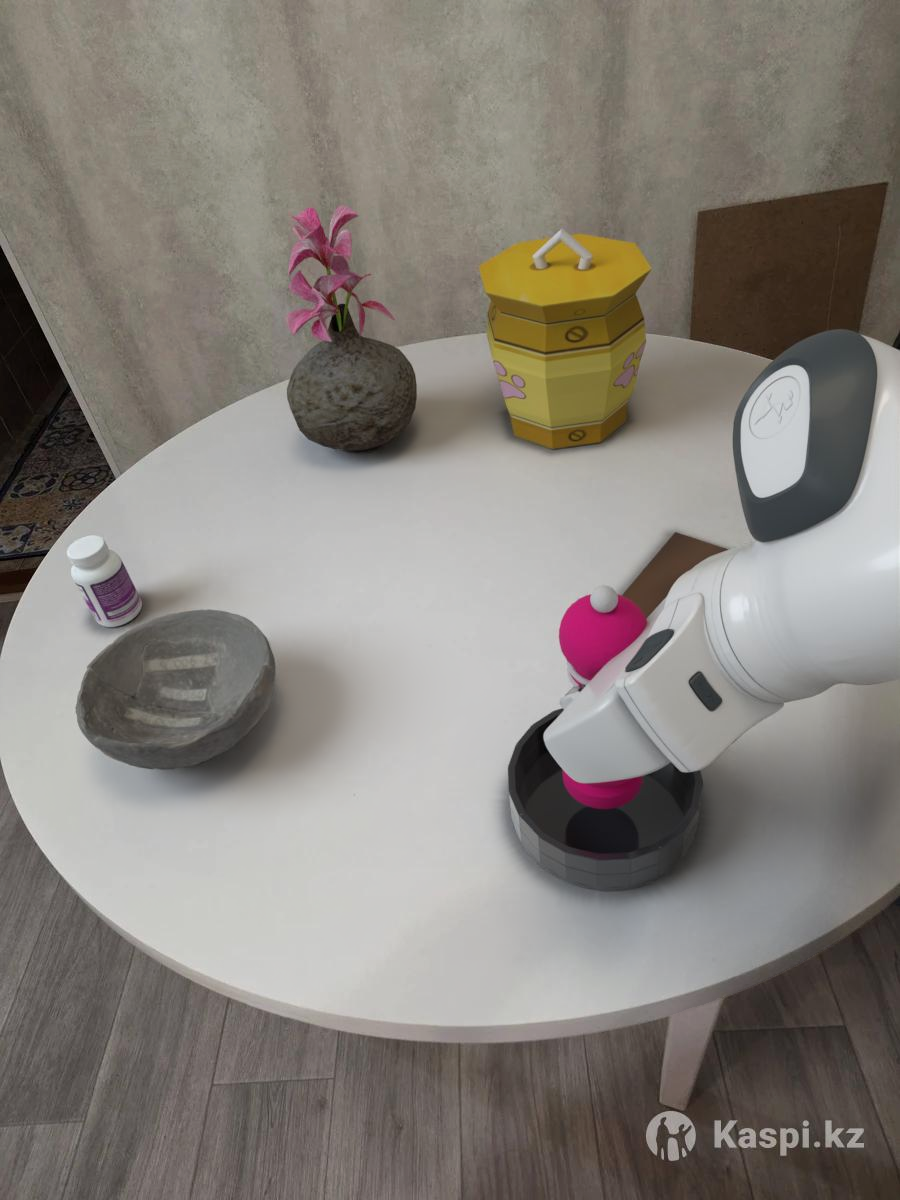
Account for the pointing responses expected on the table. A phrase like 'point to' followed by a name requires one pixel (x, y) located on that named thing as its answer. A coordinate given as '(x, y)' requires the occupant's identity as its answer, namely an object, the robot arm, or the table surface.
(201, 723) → the bowl
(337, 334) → the vase
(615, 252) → the container
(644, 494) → the table surface
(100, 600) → the pill bottle
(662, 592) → the trivet
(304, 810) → the table surface
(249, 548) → the table surface
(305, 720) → the table surface
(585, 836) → the pan
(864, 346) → the robot arm
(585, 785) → the pepper mill
